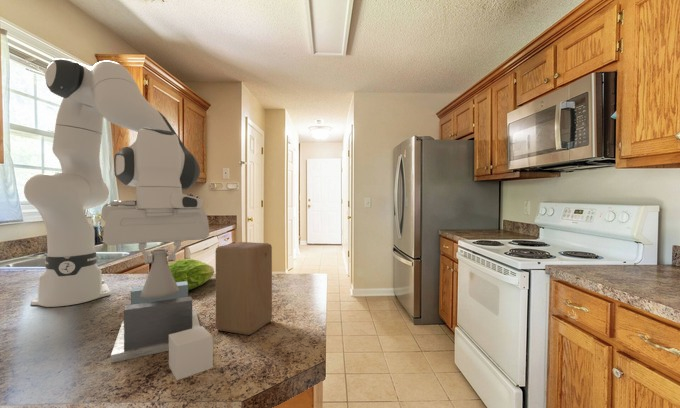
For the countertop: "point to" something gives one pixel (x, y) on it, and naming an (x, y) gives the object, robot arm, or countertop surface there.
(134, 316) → the base
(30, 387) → the countertop surface
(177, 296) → the sliding jaw
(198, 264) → the lettuce
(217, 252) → the wooden block
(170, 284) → the flask
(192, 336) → the white cube
